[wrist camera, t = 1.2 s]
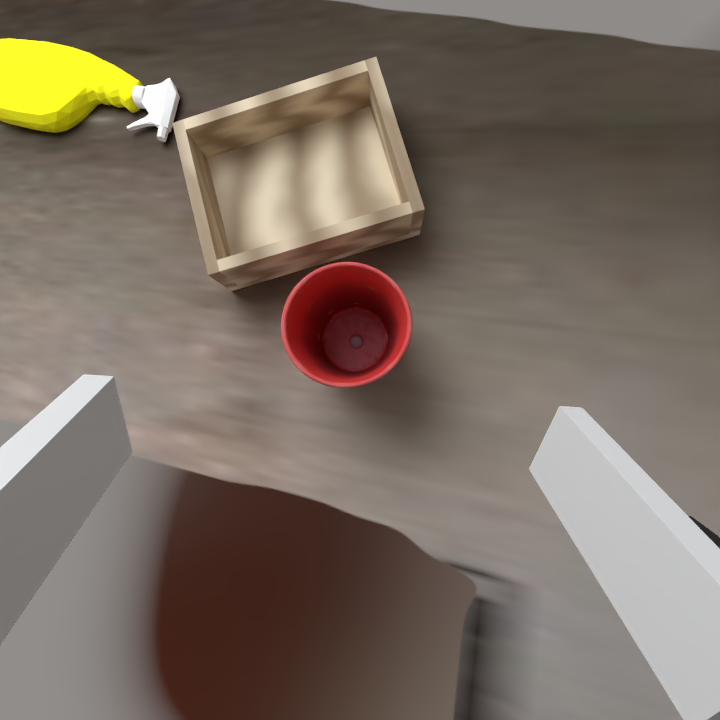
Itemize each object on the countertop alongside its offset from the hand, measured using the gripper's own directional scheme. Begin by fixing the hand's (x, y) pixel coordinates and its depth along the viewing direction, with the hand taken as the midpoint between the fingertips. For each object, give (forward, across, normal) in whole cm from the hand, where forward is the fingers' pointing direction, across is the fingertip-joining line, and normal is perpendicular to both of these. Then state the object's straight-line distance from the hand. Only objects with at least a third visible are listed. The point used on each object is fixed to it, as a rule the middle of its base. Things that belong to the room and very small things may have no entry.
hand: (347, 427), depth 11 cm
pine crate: (+37, -4, +3) cm, 37 cm away
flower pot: (+27, +3, -10) cm, 29 cm away
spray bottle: (+49, -32, +9) cm, 59 cm away
